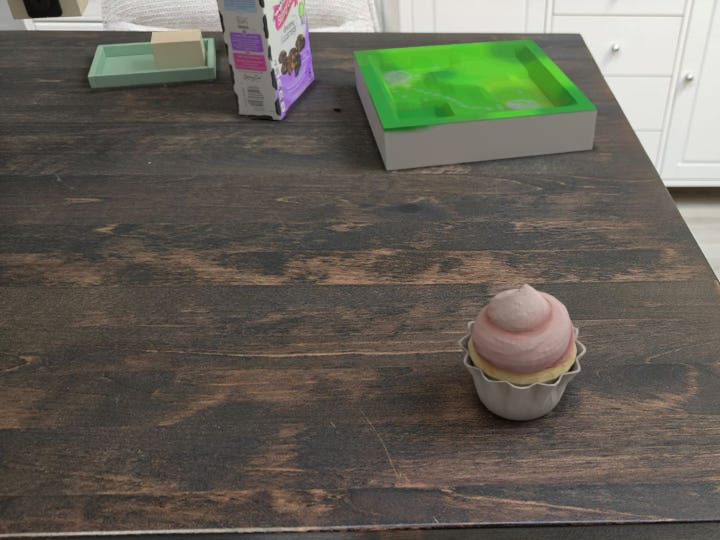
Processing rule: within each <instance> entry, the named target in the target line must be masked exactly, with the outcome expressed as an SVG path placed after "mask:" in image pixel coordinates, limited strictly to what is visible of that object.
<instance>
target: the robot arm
mask: <svg viewBox="0 0 720 540" xmlns="http://www.w3.org/2000/svg"><path fill="white" fill-rule="evenodd" d="M23 3H24V6H25V8H26V11H27V14H28V16H29V17H31V18H35V19H47V18H46V17H56V18H61V17H60V16H61V15H62V13H63V11H62V8H61V5H60V2H59V0H23Z"/></svg>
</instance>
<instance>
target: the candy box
mask: <svg viewBox="0 0 720 540" xmlns="http://www.w3.org/2000/svg"><path fill="white" fill-rule="evenodd" d="M216 5H217V10H218V15H219V21H220V26H221V32H222V36H223V41H224V46H225V53H226V57H227V63H228V67H229V72H230V78H231V83H232V88H233V93H234V98H235V103H236V109H237V113H238V115H245V116H243V117H245V118H253V119H254V118H255V119H264V120H272V121H273V120H275V121H281V120H283V119H284V118H285V117H286V115H287V114H288V112H287V111H288V110H289V109H290V108H291V107H292V105H293V104H294V103H295V102H296V101H297V100H298V98H299V97H300V96H301V95H302V94H303V93H304V92H305V90H306V89H307V88H308V87H309V86H310V85H311V84H312V82H313V81H315V79H316V78H315V70H314V69H315V68H314V62H313V55H312V48H311V39H310V32H309V31H310V30H309V23H308V17H307V8H306V1H305V0H216Z"/></svg>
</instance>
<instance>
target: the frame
mask: <svg viewBox="0 0 720 540" xmlns="http://www.w3.org/2000/svg"><path fill="white" fill-rule="evenodd" d="M202 39H203V43H204V48H205V53H206V66H202V67H188V68H174V69H160V70H157V67H156V63H155V60H154V56H153V52H152V48H151V44H150V43H151V41H143V42H129V43H113V44H98V45H97V46H96V47H97V48H96V50H95V53H94V57H93V59H92V62H91V65H90V68H89V71H88V75H87V80H88V82H89V86H90V89H100V88H112V87H127V86H139V85H141V86H142V85H151V84H152V85H153V84H167V83H179V82H181V83H182V82H191V81H194V82H195V81H204V80H205V81H206V80H207V81H208V80H217V50H216V49H217V48H216V45H215V44H216V42H215V38H214V37H206V38H204V37H203V38H202Z"/></svg>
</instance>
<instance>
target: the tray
mask: <svg viewBox="0 0 720 540" xmlns="http://www.w3.org/2000/svg"><path fill="white" fill-rule="evenodd" d="M352 52H353V65H354V73H355V74H354V76H355V86H356V91H357V93H358V96H359V98H360V99H359V100H360V102H361V104H362V107H363V110H364V113H365V115H366V119H367V121H368V124H369V126H370V128H371V132H372V134H373V137H374V140H375V143H376V145H377V148H378V150H379V153H380V156H381V159H382V161H383V164H384V167H385V169H386V171H396V170H406V169H415V168H425V167H434V166H444V165H446V166H447V165H454V164H463V163H464V164H465V163H473V162H483V161H485V162H486V161H493V160H503V159H511V158H523V157H532V156H541V155H552V154H561V153H570V152H579V151H590V150H591V151H592V150H593V148H594V139H595V133H596V131H595V130H596V124H597V115H598V108H597V107H596V106H595V104H594V103H592V101H590V100H589V98H588V97H587V96H586V95H585V94H584V93H583V92H582V91H581V90H580V89H579V88H578V86H576V84H575V83H574V82H573V81H571V79H570V78H569V77H568V76H567V74H565V73H564V72H563V71H562V70H561V69H560V68H559V66H557V65H556V63H555V62H554V61H553V60H552V59H551V58H550V57H549V56H548V55H547V54H546V53H545V52H544V51H543V50H542V48H541V47H539V46H538V44H537V43H536V42H535V41H534V40H533V39H532V38H527V39H526V38H525V39H524V38H523V39H511V40H497V41H482V42H480V41H479V42H468V43H454V44H453V43H452V44H438V45H424V46H423V45H422V46H409V47H408V46H407V47H393V48H392V47H391V48H379V49H364V50H353V51H352Z"/></svg>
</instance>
